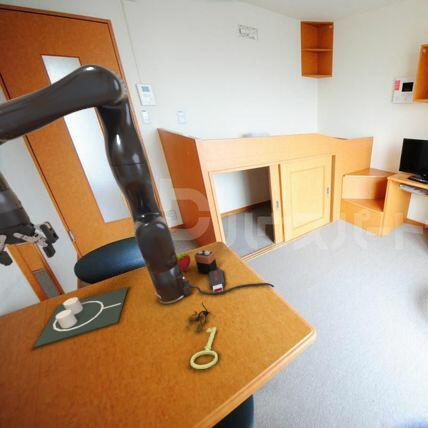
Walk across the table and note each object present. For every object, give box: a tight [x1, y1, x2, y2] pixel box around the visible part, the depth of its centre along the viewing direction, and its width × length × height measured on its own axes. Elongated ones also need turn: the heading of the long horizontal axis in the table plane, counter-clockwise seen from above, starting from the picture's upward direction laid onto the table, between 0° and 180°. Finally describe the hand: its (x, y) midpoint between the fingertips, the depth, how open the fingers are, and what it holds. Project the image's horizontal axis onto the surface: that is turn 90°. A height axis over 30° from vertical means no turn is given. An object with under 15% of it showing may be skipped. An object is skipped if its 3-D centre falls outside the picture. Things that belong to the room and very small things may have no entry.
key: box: [189, 326, 219, 370], centre depth 71 cm, size 7×12×2 cm, turn 23°
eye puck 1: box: [62, 296, 83, 314], centre depth 82 cm, size 4×4×4 cm
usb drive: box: [208, 268, 226, 293], centre depth 97 cm, size 5×12×3 cm, turn 26°
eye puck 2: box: [56, 310, 77, 328], centre depth 77 cm, size 4×4×4 cm
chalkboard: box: [33, 287, 129, 349], centre depth 82 cm, size 20×18×1 cm
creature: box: [185, 301, 210, 333], centre depth 79 cm, size 8×5×8 cm
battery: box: [194, 249, 218, 275], centre depth 102 cm, size 4×7×10 cm, turn 78°
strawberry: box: [176, 251, 191, 272], centre depth 102 cm, size 6×8×10 cm
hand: (31, 260), depth 67 cm, fingers open, 8 cm apart
